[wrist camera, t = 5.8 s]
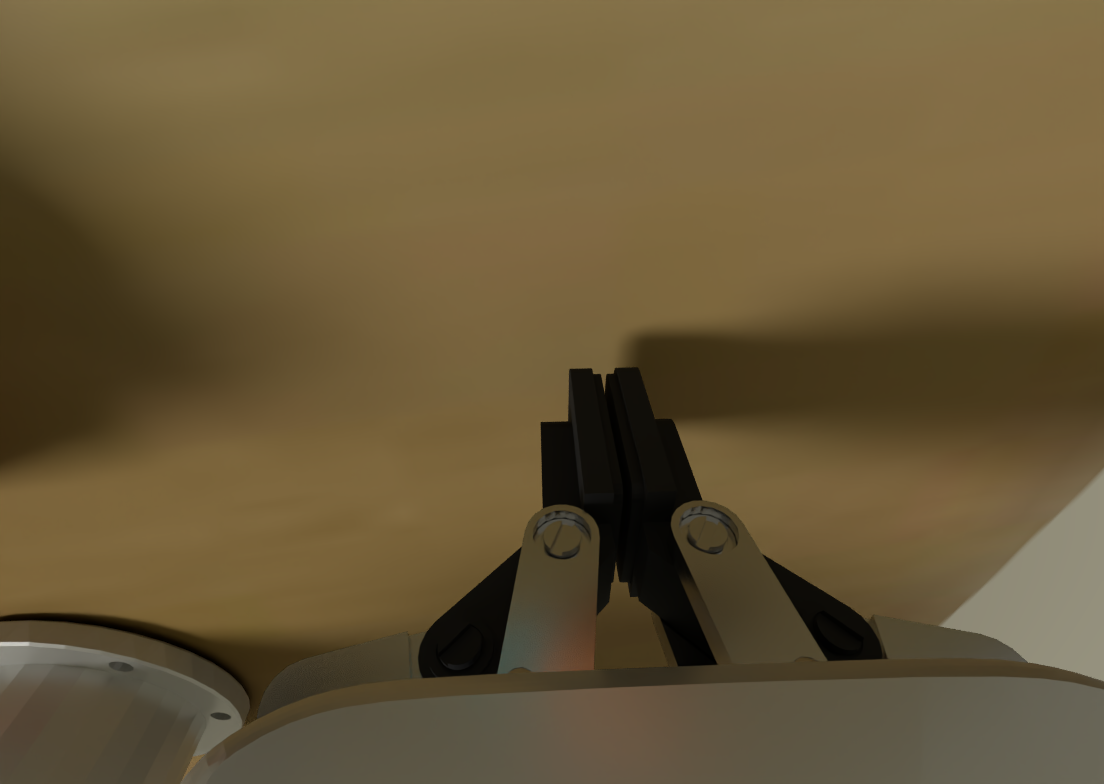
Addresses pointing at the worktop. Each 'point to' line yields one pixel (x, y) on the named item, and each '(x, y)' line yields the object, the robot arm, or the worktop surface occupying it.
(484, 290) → the worktop surface
